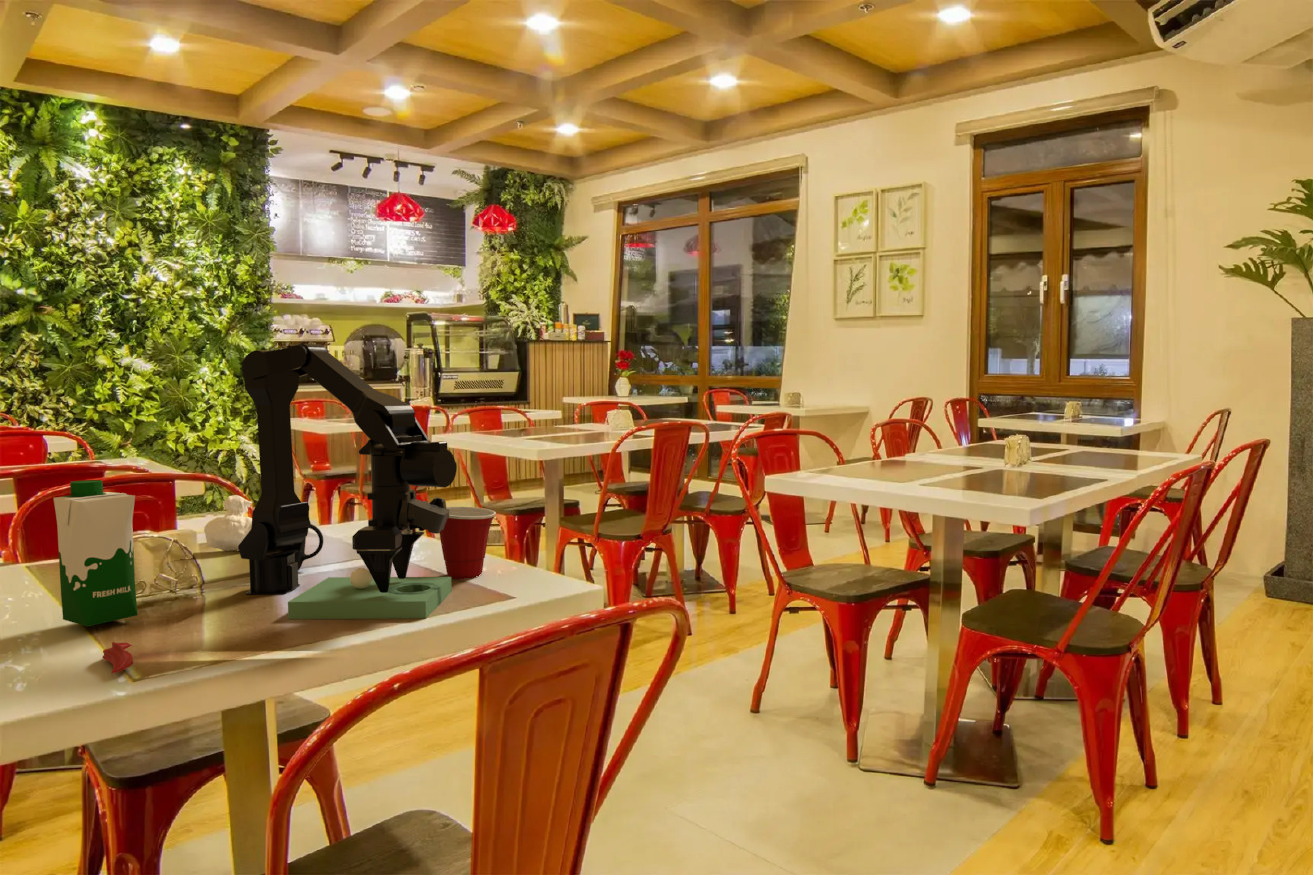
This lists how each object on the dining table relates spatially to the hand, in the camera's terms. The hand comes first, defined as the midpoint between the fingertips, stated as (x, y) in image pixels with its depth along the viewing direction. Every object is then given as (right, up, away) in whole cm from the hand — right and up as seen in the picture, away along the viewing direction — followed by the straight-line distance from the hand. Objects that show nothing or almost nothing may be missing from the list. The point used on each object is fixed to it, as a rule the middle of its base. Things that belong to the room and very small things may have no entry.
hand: (393, 585), depth 137 cm
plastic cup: (+7, -2, +19) cm, 21 cm away
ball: (-5, +1, 0) cm, 5 cm away
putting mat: (-3, -3, 0) cm, 4 cm away
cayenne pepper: (-28, -6, -25) cm, 37 cm away
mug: (-26, -2, +25) cm, 37 cm away
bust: (-46, -1, +45) cm, 64 cm away
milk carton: (-41, -4, -7) cm, 42 cm away
